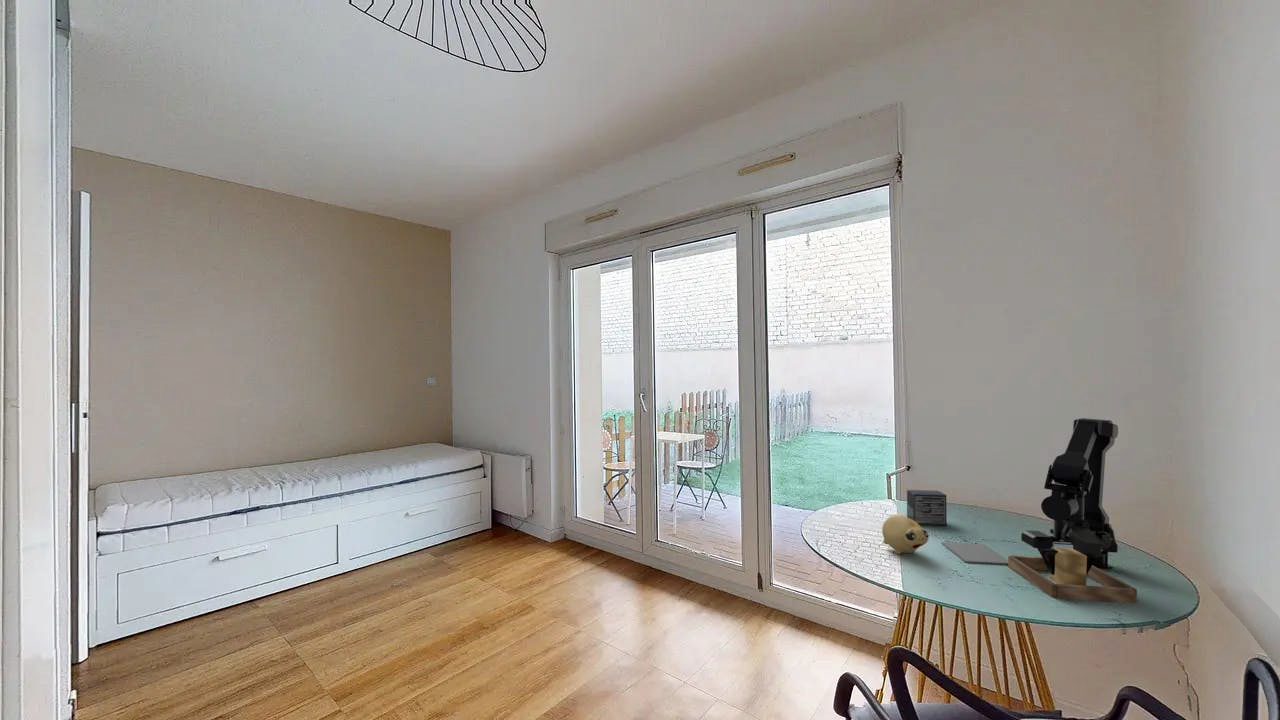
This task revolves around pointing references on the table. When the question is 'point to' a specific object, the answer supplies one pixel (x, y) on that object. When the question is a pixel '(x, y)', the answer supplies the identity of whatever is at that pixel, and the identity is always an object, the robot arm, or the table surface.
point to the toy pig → (903, 534)
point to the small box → (927, 507)
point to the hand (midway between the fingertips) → (1067, 575)
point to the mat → (975, 553)
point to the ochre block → (1069, 567)
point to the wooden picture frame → (1111, 592)
